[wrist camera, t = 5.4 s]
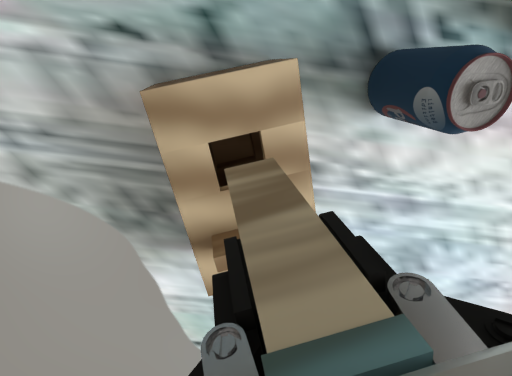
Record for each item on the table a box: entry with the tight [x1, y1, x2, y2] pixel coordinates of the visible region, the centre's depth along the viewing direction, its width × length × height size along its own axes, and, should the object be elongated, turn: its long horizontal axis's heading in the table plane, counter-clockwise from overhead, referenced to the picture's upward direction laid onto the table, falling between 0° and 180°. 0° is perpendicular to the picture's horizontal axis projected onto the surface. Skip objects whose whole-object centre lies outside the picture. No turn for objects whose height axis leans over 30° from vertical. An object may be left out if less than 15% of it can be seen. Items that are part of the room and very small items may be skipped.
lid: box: [140, 58, 316, 296], centre depth 25 cm, size 20×12×4 cm, turn 11°
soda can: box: [368, 45, 512, 134], centre depth 28 cm, size 7×7×12 cm
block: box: [224, 158, 434, 376], centre depth 13 cm, size 4×4×14 cm
